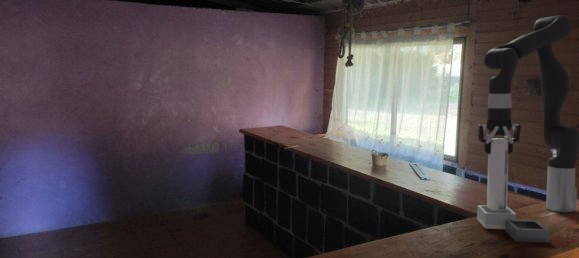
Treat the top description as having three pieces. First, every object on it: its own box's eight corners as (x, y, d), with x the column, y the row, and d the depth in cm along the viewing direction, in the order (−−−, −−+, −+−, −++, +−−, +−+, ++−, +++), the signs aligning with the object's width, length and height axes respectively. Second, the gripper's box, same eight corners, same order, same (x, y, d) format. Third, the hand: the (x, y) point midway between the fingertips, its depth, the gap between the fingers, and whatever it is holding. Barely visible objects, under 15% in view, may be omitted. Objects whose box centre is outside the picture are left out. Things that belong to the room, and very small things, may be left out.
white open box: (506, 220, 160) (506, 205, 160) (515, 229, 150) (516, 214, 150) (477, 219, 162) (477, 205, 161) (484, 228, 152) (485, 213, 151)
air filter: (502, 205, 159) (504, 137, 156) (509, 210, 152) (512, 139, 149) (484, 205, 159) (485, 137, 156) (490, 210, 153) (492, 140, 150)
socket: (536, 231, 148) (537, 220, 147) (549, 242, 138) (549, 230, 137) (505, 231, 149) (505, 219, 149) (515, 241, 139) (516, 229, 139)
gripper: (517, 105, 154) (516, 152, 156) (474, 106, 156) (473, 152, 158) (525, 106, 147) (523, 155, 149) (480, 107, 149) (479, 155, 151)
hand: (498, 153), depth 154 cm, fingers closed on air filter, 6 cm apart
